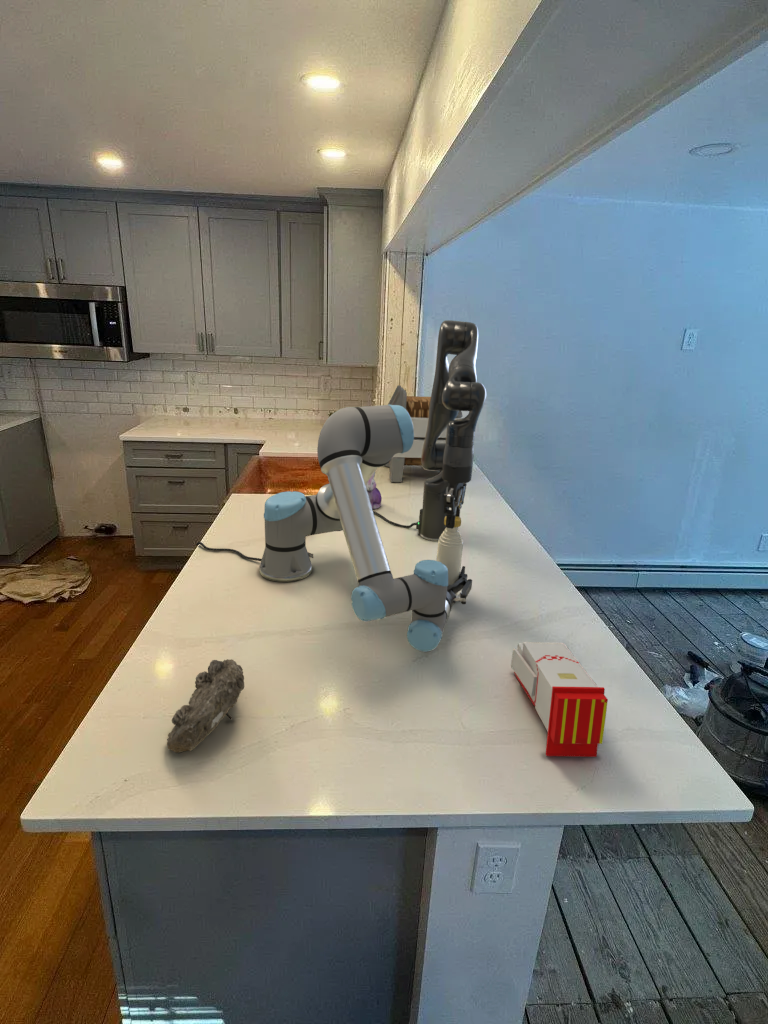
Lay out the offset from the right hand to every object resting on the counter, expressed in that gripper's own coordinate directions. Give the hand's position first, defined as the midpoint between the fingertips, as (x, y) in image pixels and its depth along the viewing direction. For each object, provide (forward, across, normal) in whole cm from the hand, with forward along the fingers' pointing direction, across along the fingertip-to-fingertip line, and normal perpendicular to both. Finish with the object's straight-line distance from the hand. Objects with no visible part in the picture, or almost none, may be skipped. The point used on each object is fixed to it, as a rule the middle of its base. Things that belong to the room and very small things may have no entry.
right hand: (452, 524), depth 149 cm
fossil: (+22, +66, -27) cm, 75 cm away
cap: (-1, 0, 0) cm, 1 cm away
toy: (+22, +35, +32) cm, 52 cm away
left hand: (+15, -5, -1) cm, 16 cm away
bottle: (+22, 0, 0) cm, 22 cm away
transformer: (+22, -116, -47) cm, 127 cm away
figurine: (+22, -60, -48) cm, 80 cm away
